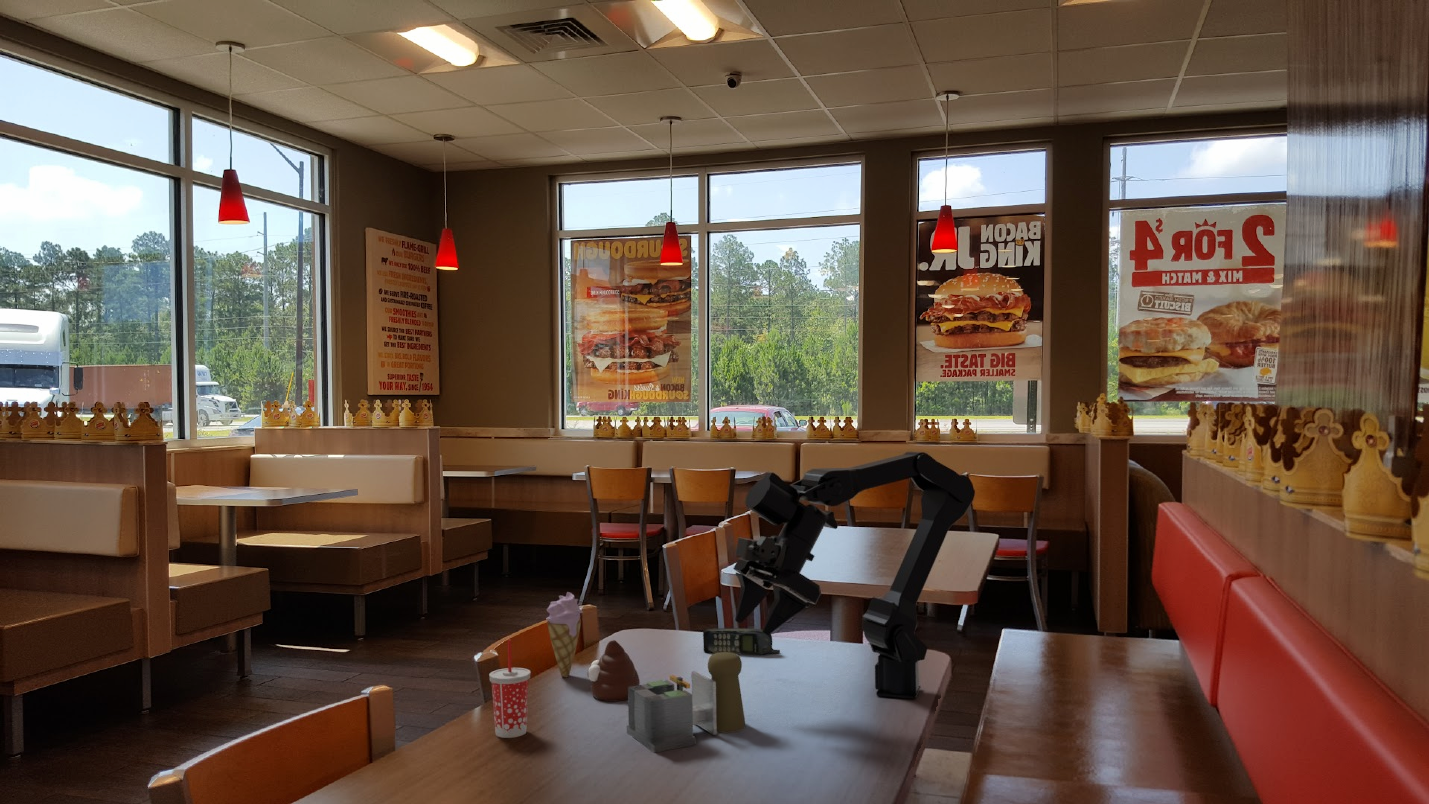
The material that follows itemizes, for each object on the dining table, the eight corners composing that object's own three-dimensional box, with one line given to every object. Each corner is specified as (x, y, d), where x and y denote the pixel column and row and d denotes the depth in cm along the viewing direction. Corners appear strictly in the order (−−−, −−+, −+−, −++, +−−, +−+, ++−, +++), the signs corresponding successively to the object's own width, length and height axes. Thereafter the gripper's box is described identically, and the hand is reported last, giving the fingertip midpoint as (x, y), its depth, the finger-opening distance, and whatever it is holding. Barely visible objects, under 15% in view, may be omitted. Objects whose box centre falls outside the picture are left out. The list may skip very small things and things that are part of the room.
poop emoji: (636, 702, 163) (635, 645, 163) (585, 703, 164) (584, 646, 164) (642, 685, 173) (641, 631, 173) (593, 685, 174) (592, 632, 174)
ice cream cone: (591, 674, 180) (590, 592, 180) (568, 683, 175) (567, 598, 175) (563, 669, 184) (562, 589, 184) (540, 678, 179) (539, 594, 179)
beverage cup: (539, 728, 151) (537, 636, 151) (518, 741, 145) (516, 645, 145) (503, 724, 153) (502, 633, 153) (482, 737, 147) (480, 643, 147)
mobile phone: (701, 630, 195) (777, 630, 192) (705, 626, 197) (779, 627, 194) (702, 655, 195) (778, 656, 192) (706, 651, 197) (780, 652, 194)
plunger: (695, 721, 152) (694, 668, 152) (716, 734, 146) (715, 679, 146) (668, 726, 150) (667, 672, 150) (689, 739, 144) (688, 683, 144)
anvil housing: (666, 725, 151) (665, 678, 151) (695, 744, 142) (694, 694, 142) (626, 732, 148) (625, 684, 148) (654, 752, 139) (653, 701, 139)
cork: (741, 733, 147) (740, 659, 147) (702, 731, 148) (700, 658, 148) (748, 720, 153) (747, 649, 153) (710, 718, 154) (709, 648, 154)
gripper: (732, 509, 163) (686, 594, 160) (787, 520, 146) (738, 615, 143) (782, 542, 167) (739, 625, 164) (842, 556, 150) (795, 649, 147)
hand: (750, 627), depth 154 cm, fingers open, 9 cm apart
